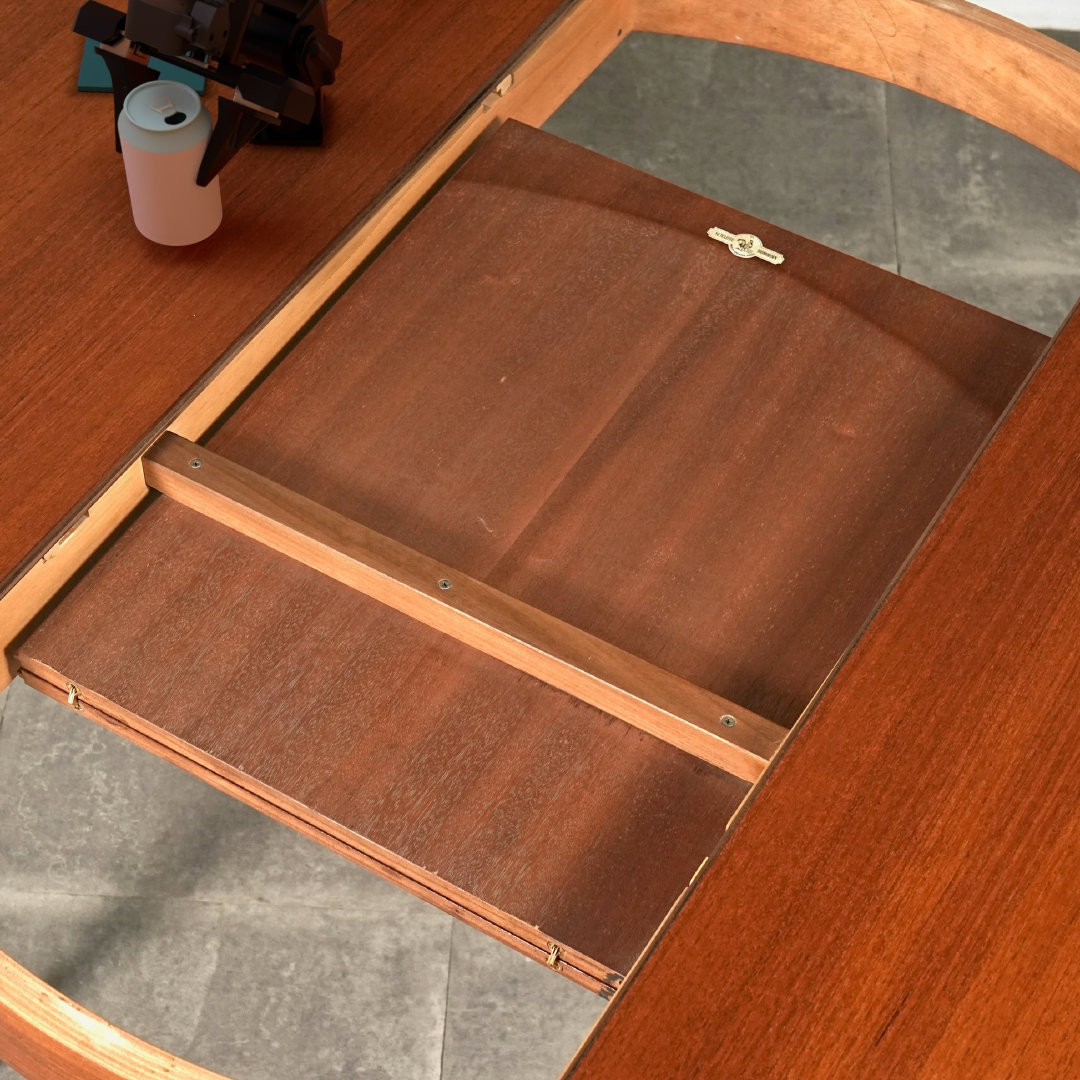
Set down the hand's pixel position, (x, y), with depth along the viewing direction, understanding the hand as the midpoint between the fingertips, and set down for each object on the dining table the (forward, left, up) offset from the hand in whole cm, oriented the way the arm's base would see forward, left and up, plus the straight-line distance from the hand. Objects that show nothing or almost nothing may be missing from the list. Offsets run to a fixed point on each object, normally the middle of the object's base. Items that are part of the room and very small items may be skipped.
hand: (159, 169), depth 124 cm
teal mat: (+4, -23, -8) cm, 25 cm away
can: (-1, -1, -7) cm, 7 cm away
